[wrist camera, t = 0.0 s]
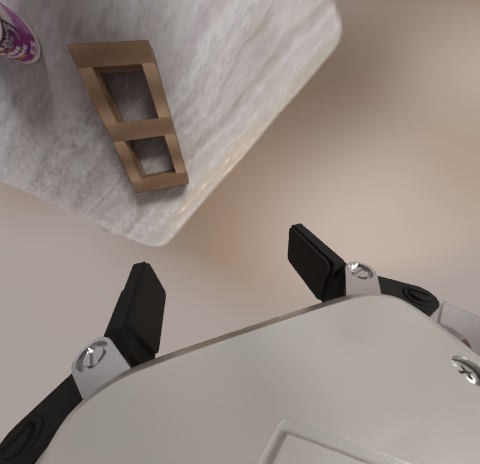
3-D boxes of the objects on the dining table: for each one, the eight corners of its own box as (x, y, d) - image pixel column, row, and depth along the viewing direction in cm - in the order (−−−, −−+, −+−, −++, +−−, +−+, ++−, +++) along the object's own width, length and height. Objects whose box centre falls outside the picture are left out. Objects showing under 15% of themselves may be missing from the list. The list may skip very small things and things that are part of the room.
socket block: (79, 55, 25) (62, 44, 22) (152, 50, 26) (147, 39, 23) (139, 187, 36) (134, 193, 33) (188, 178, 37) (188, 183, 34)
